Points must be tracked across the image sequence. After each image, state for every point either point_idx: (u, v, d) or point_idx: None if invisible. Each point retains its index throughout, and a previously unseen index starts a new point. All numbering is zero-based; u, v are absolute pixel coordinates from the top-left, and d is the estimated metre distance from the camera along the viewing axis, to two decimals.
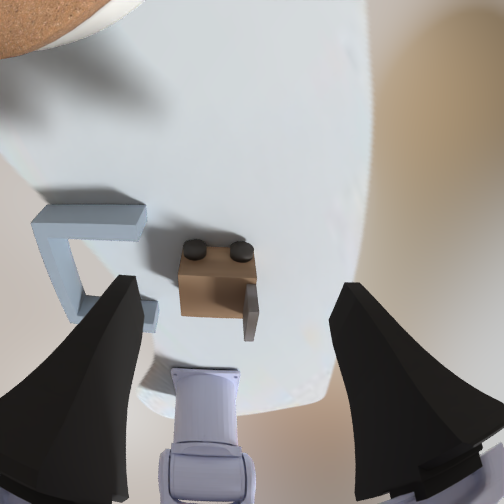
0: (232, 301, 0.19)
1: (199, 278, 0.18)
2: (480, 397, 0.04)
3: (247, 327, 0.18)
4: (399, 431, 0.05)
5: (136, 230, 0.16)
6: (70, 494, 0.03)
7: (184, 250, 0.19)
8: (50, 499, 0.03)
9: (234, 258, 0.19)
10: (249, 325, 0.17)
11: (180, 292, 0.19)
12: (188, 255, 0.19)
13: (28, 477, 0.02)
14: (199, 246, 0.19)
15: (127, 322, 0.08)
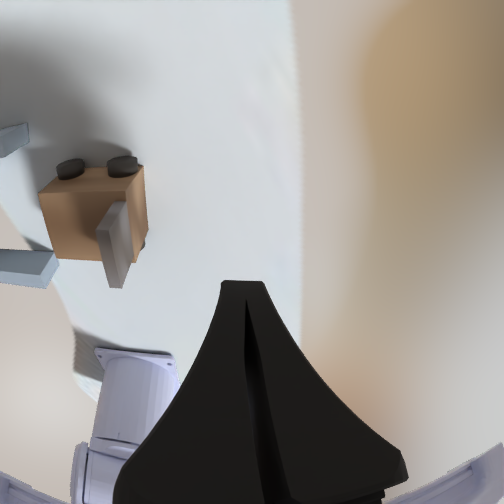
0: None
1: (59, 196, 0.11)
2: (365, 438, 0.04)
3: (103, 260, 0.11)
4: (264, 455, 0.05)
5: (2, 143, 0.09)
6: None
7: (57, 169, 0.12)
8: None
9: (109, 173, 0.13)
10: (104, 256, 0.11)
11: (45, 220, 0.12)
12: (59, 174, 0.12)
13: None
14: (74, 163, 0.12)
15: None
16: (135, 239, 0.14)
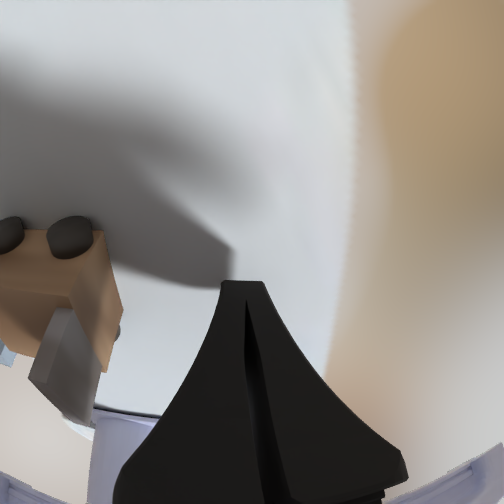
0: None
1: None
2: (365, 438, 0.04)
3: (55, 404, 0.06)
4: (264, 455, 0.05)
5: None
6: None
7: None
8: None
9: (51, 250, 0.07)
10: (54, 402, 0.05)
11: None
12: None
13: None
14: (8, 228, 0.07)
15: None
16: (101, 344, 0.09)
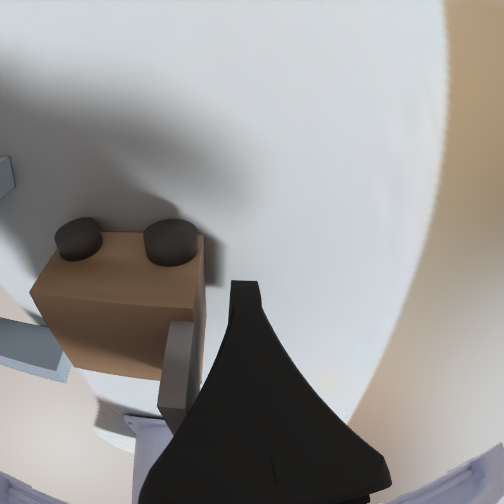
0: (152, 353, 0.08)
1: (66, 303, 0.07)
2: (347, 442, 0.04)
3: (170, 427, 0.06)
4: None
5: None
6: None
7: None
8: None
9: (150, 256, 0.08)
10: (172, 425, 0.06)
11: (49, 327, 0.07)
12: (60, 250, 0.07)
13: None
14: (84, 231, 0.08)
15: None
16: (200, 355, 0.09)
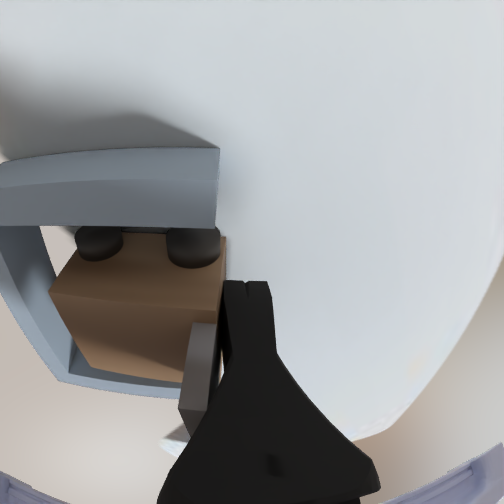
0: (172, 355, 0.08)
1: (85, 302, 0.07)
2: (334, 444, 0.04)
3: (189, 429, 0.06)
4: None
5: (214, 196, 0.06)
6: None
7: None
8: None
9: (172, 258, 0.08)
10: (192, 427, 0.06)
11: (67, 326, 0.08)
12: (80, 250, 0.08)
13: None
14: (104, 231, 0.08)
15: None
16: (220, 357, 0.09)
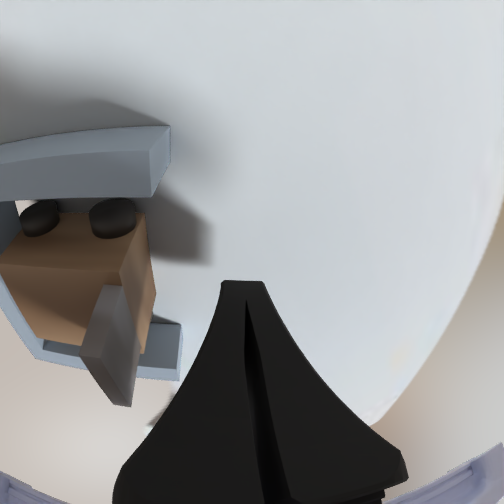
0: None
1: (23, 270, 0.07)
2: (365, 438, 0.04)
3: (100, 383, 0.06)
4: (264, 455, 0.05)
5: (149, 166, 0.06)
6: None
7: None
8: None
9: (93, 230, 0.08)
10: (100, 380, 0.06)
11: (13, 296, 0.07)
12: (23, 228, 0.08)
13: None
14: (43, 210, 0.08)
15: None
16: (140, 324, 0.09)
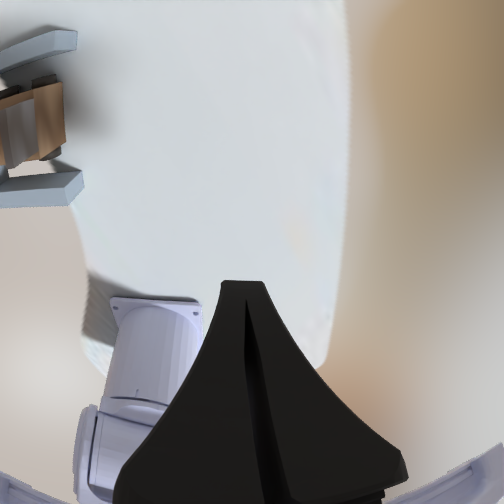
0: None
1: None
2: (365, 438, 0.04)
3: (2, 140, 0.09)
4: (264, 455, 0.05)
5: (54, 36, 0.08)
6: None
7: None
8: None
9: (32, 86, 0.10)
10: (2, 136, 0.08)
11: None
12: None
13: None
14: (11, 87, 0.10)
15: None
16: (42, 138, 0.11)
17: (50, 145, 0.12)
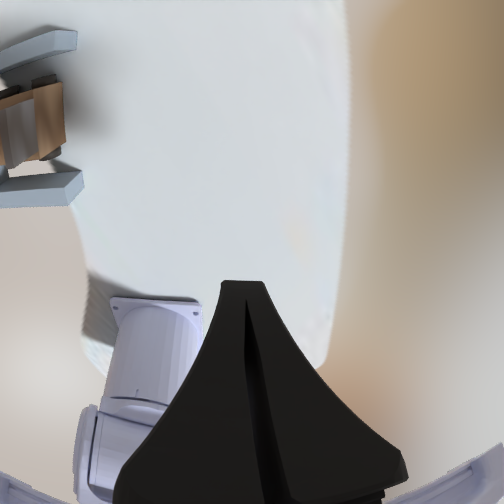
0: None
1: None
2: (365, 438, 0.04)
3: (2, 140, 0.09)
4: (264, 455, 0.05)
5: (54, 36, 0.08)
6: None
7: None
8: None
9: (32, 86, 0.10)
10: (2, 136, 0.08)
11: None
12: None
13: None
14: (11, 87, 0.10)
15: None
16: (42, 138, 0.11)
17: (50, 145, 0.12)
